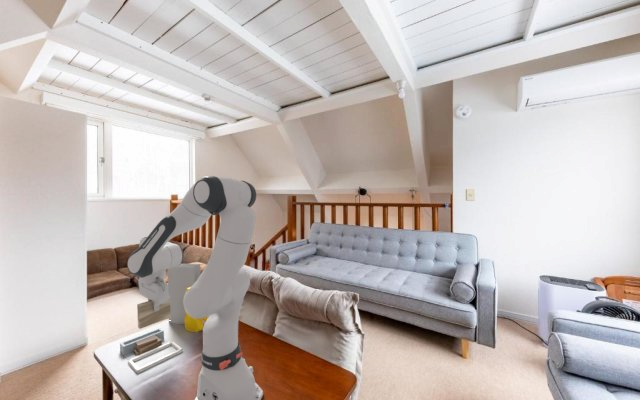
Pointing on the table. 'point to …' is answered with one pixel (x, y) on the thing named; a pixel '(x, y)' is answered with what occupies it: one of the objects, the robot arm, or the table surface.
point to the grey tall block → (180, 288)
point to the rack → (129, 345)
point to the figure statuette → (193, 322)
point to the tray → (137, 370)
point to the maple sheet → (152, 313)
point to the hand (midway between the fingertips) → (154, 309)
